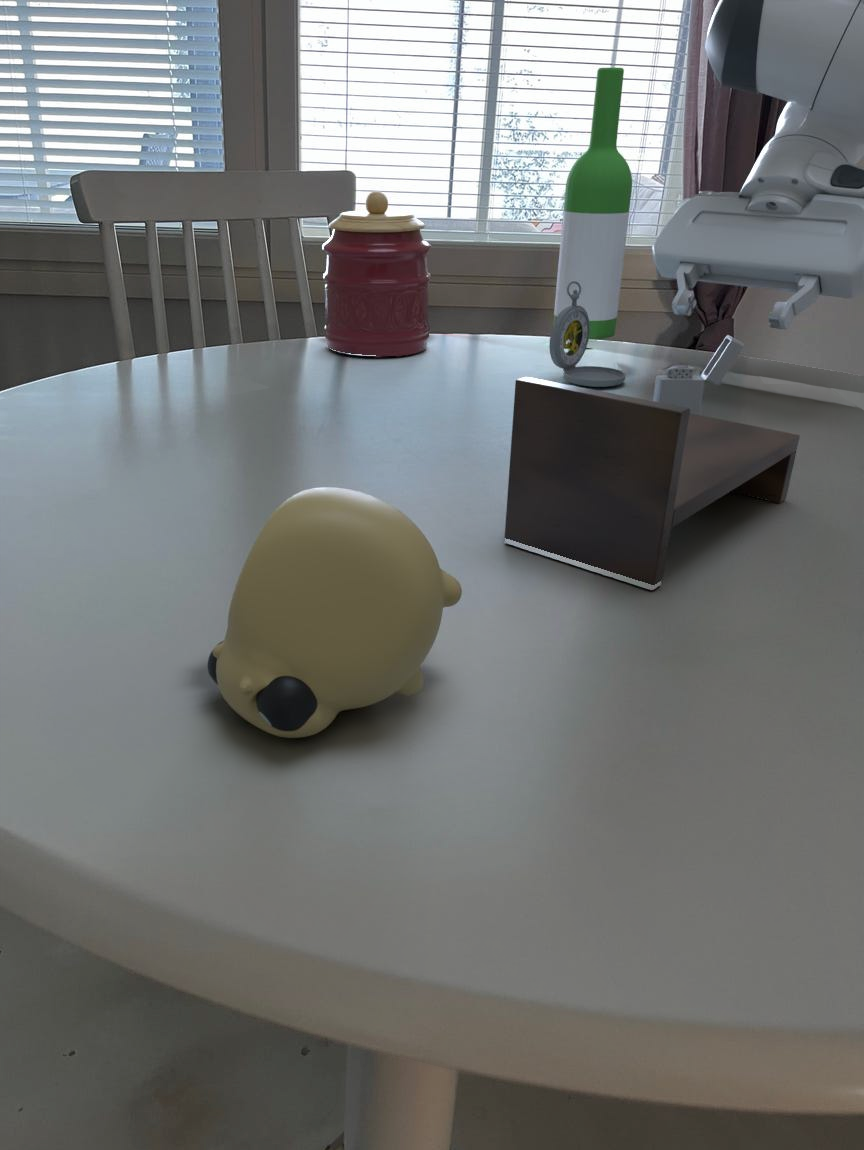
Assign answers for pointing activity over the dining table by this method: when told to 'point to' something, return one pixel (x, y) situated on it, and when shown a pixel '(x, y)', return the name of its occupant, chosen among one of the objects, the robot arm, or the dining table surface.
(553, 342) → the pocket watch
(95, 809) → the dining table surface
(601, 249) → the wine bottle
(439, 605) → the toy pig
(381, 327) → the kitchen canister
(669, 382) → the lighter
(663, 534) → the shelf
